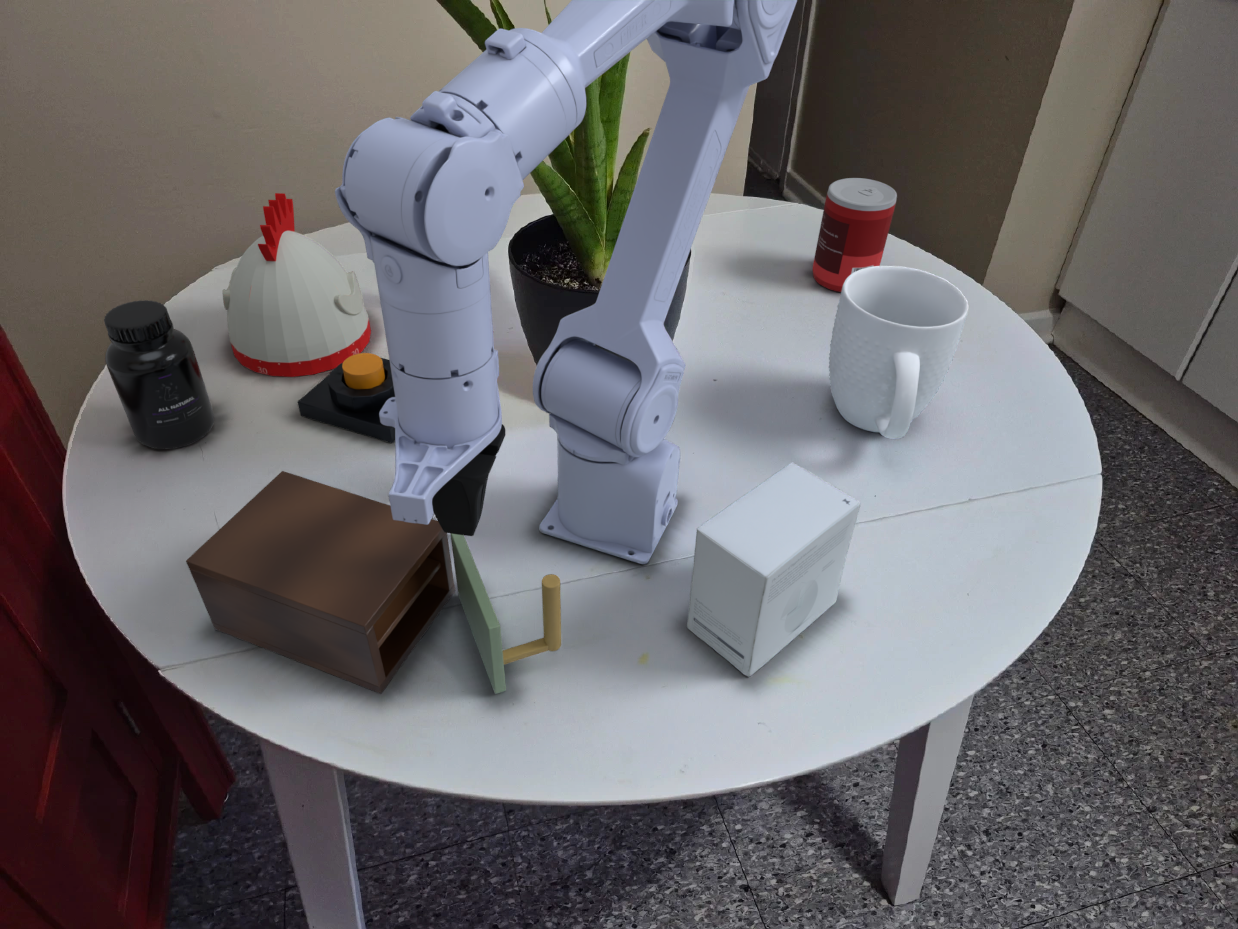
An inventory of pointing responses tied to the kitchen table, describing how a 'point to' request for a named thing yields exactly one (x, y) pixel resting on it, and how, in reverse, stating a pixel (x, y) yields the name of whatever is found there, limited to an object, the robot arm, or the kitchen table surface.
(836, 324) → the mug
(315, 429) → the kitchen table surface
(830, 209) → the canned food
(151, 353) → the supplement bottle
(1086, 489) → the kitchen table surface
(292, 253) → the kitchen timer
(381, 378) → the button
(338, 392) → the switch box
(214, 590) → the shelf cabinet
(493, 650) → the shelf door
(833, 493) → the cosmetics box
